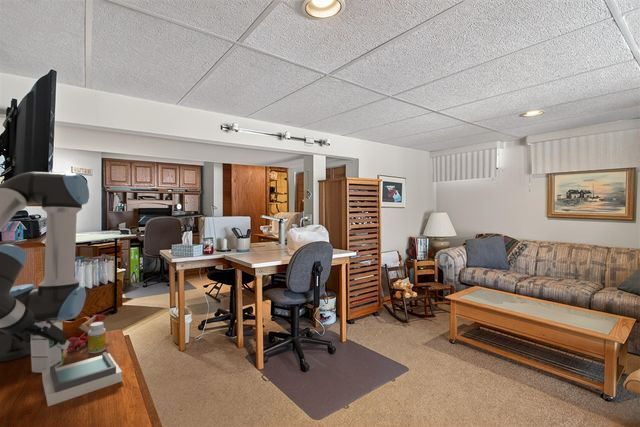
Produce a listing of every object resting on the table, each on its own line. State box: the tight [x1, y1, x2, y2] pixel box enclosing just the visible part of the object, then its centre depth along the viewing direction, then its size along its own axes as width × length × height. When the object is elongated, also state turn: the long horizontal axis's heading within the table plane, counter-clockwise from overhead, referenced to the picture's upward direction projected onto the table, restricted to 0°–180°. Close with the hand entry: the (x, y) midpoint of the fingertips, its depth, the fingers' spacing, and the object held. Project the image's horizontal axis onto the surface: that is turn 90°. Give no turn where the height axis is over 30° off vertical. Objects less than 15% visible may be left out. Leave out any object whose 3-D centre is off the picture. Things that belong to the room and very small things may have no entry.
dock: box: [41, 351, 123, 407], centre depth 95 cm, size 16×17×5 cm
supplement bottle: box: [87, 321, 107, 354], centre depth 115 cm, size 5×5×10 cm
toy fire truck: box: [66, 313, 106, 353], centre depth 119 cm, size 3×14×10 cm, turn 169°
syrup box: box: [30, 320, 65, 374], centre depth 102 cm, size 6×6×14 cm
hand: (56, 346), depth 106 cm, fingers closed on syrup box, 6 cm apart
